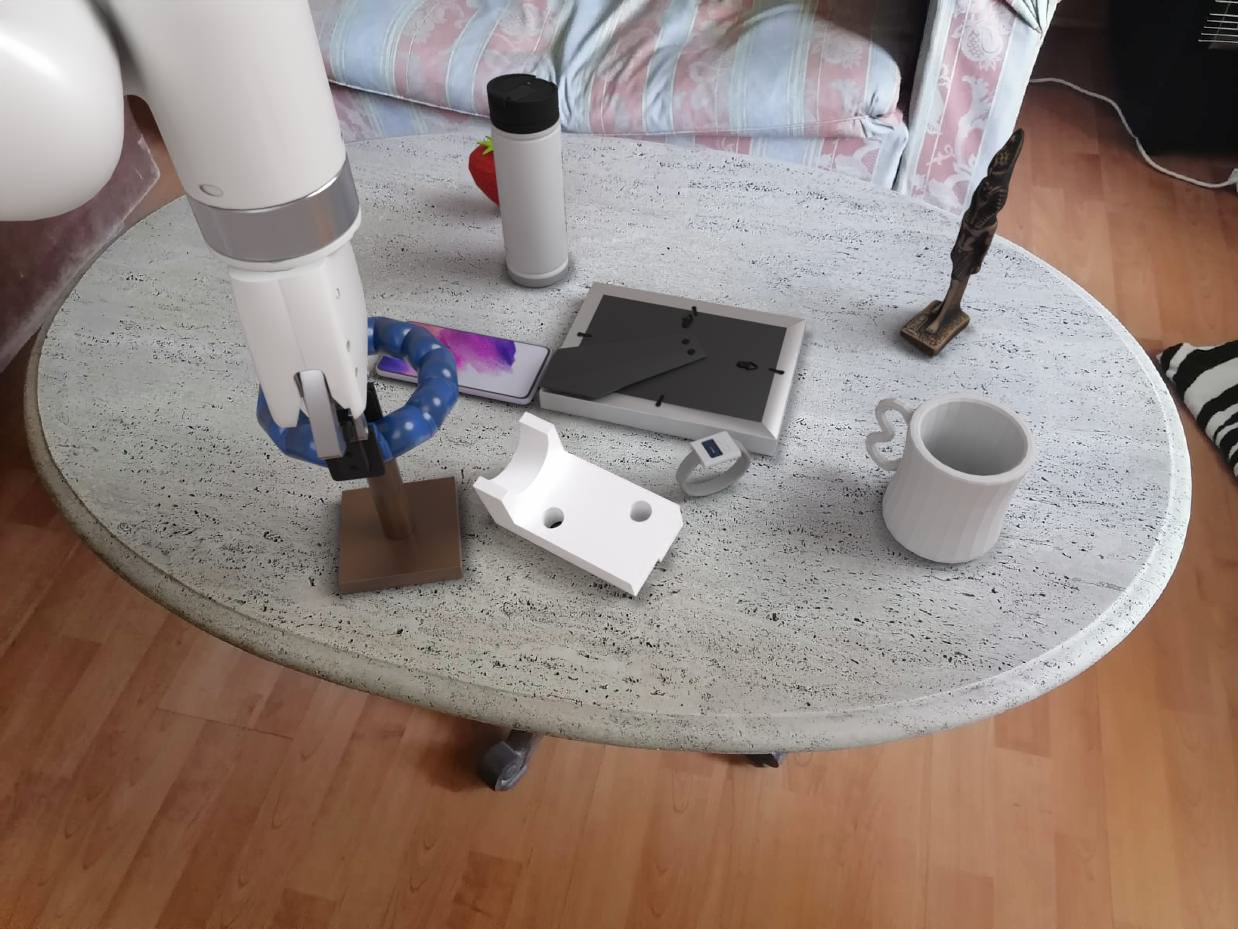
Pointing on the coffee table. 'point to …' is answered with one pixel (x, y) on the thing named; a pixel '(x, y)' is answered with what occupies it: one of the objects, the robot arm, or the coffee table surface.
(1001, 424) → the mug
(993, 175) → the statue
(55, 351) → the coffee table surface
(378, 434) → the blue spotted ring
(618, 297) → the picture frame
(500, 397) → the smartphone
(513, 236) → the travel mug
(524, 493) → the bracket
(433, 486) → the peg stand
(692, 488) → the wristwatch
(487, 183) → the strawberry
